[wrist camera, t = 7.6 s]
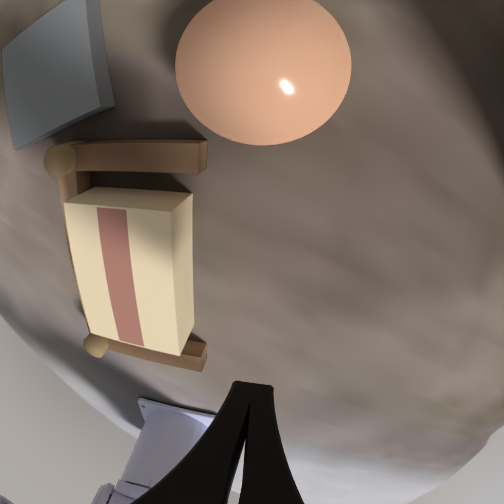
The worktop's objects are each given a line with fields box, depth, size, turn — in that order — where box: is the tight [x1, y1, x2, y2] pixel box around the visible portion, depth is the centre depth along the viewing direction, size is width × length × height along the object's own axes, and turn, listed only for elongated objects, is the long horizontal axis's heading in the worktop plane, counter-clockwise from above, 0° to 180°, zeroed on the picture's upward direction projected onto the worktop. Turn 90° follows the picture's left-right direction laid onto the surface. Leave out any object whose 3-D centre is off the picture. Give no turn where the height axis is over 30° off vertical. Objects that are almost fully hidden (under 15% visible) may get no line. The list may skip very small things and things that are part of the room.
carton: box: [64, 187, 194, 356], centre depth 17 cm, size 9×6×4 cm
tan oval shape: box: [175, 0, 351, 145], centre depth 11 cm, size 6×6×5 cm
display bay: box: [44, 139, 207, 372], centre depth 18 cm, size 15×9×2 cm, turn 176°
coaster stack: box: [2, 0, 115, 151], centre depth 13 cm, size 8×8×2 cm
